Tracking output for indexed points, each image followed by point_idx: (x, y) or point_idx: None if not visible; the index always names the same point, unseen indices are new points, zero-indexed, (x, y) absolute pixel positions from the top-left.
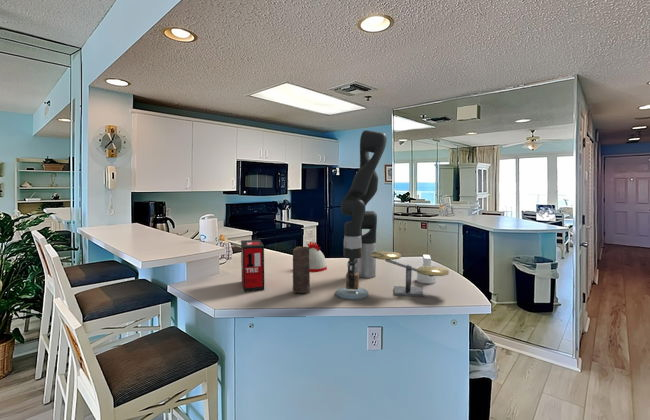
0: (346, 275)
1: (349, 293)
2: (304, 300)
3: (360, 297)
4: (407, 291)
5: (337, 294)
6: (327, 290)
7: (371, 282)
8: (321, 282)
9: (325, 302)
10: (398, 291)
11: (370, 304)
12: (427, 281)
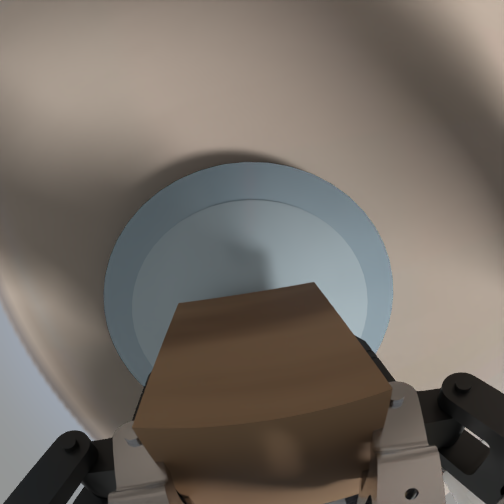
0: (137, 427)
1: None
2: (28, 40)
3: None
4: (336, 500)
5: (138, 212)
6: (293, 69)
7: (495, 336)
8: (446, 24)
9: (15, 174)
10: None
11: (117, 428)
12: (446, 477)
